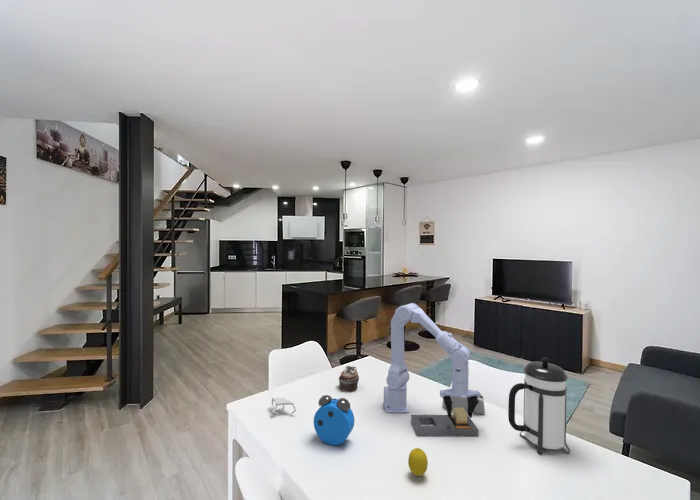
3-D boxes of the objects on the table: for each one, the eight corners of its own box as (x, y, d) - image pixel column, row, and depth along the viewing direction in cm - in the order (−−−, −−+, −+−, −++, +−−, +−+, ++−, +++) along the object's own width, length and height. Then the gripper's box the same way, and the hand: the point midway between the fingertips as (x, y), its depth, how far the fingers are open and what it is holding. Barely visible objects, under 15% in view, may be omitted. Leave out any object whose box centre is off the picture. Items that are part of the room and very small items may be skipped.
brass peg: (456, 432, 117) (456, 412, 117) (452, 426, 121) (452, 407, 121) (467, 432, 117) (467, 412, 117) (462, 426, 121) (463, 407, 121)
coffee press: (523, 426, 121) (525, 347, 121) (574, 445, 110) (576, 357, 110) (507, 445, 109) (508, 357, 109) (562, 468, 98) (563, 370, 98)
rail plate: (417, 436, 114) (417, 428, 114) (410, 421, 124) (411, 414, 124) (478, 436, 114) (478, 428, 114) (467, 421, 124) (467, 414, 124)
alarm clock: (354, 440, 111) (355, 396, 111) (348, 450, 105) (349, 404, 105) (320, 432, 115) (321, 390, 115) (312, 441, 109) (313, 397, 109)
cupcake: (340, 383, 157) (340, 363, 157) (359, 385, 156) (360, 364, 156) (336, 392, 148) (337, 370, 148) (357, 393, 147) (357, 371, 147)
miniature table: (264, 417, 124) (264, 404, 124) (272, 407, 133) (272, 395, 133) (293, 420, 123) (294, 407, 123) (300, 409, 131) (300, 397, 131)
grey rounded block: (483, 408, 135) (485, 389, 131) (484, 417, 130) (486, 398, 127) (442, 402, 140) (442, 383, 136) (442, 410, 135) (442, 391, 132)
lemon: (405, 469, 96) (406, 443, 96) (423, 469, 96) (424, 442, 97) (411, 483, 91) (411, 454, 91) (430, 482, 91) (430, 454, 91)
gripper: (444, 384, 115) (443, 422, 115) (484, 384, 115) (483, 422, 115) (438, 376, 122) (437, 412, 122) (476, 376, 122) (475, 412, 122)
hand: (459, 416), depth 119 cm, fingers open, 7 cm apart
